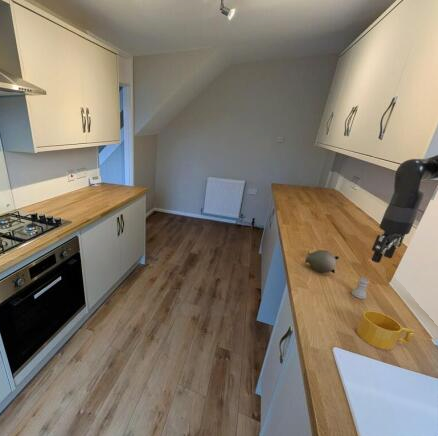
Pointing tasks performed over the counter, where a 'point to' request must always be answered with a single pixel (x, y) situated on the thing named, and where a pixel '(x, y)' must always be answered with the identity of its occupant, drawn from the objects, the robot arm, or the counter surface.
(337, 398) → the counter surface
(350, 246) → the counter surface
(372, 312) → the mug
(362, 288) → the rook chess piece
